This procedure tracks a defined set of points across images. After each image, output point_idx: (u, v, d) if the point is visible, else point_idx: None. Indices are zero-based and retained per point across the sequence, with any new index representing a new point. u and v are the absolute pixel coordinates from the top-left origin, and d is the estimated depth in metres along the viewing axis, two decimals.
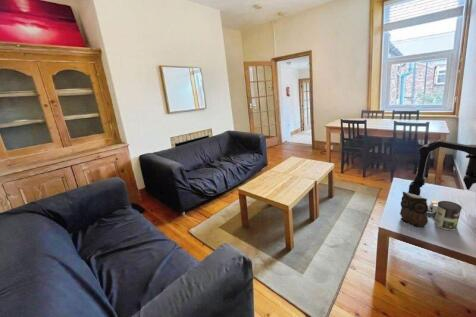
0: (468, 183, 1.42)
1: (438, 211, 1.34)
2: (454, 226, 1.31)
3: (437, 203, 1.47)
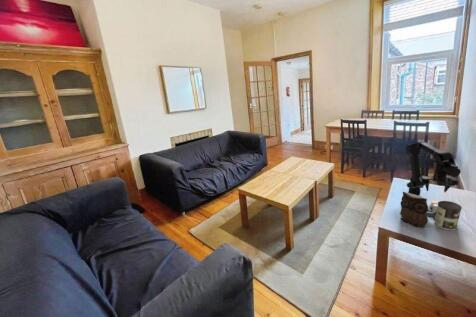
0: (426, 184, 1.52)
1: (438, 211, 1.34)
2: (454, 226, 1.31)
3: (437, 203, 1.47)
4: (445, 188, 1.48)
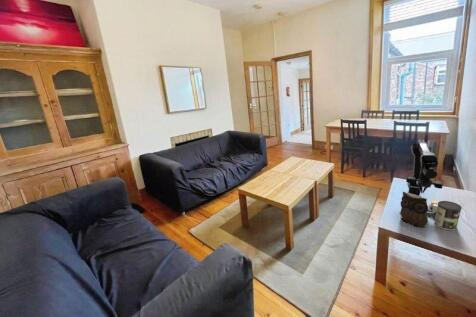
0: (420, 186, 1.52)
1: (438, 211, 1.34)
2: (454, 226, 1.31)
3: (437, 203, 1.47)
4: None
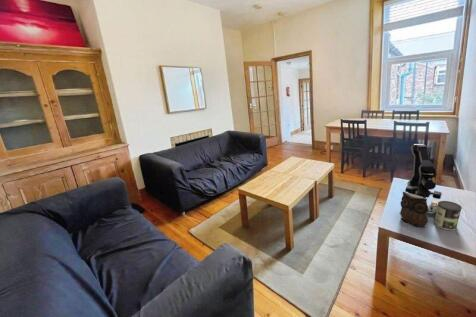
0: None
1: (438, 211, 1.34)
2: (454, 226, 1.31)
3: (437, 203, 1.47)
4: None
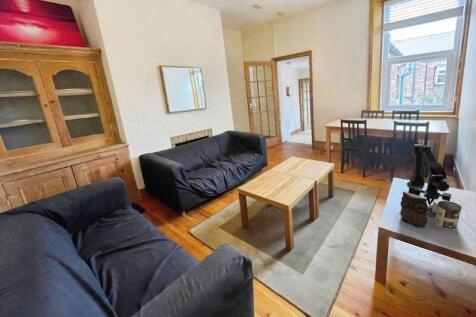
0: (428, 197, 1.51)
1: (438, 211, 1.34)
2: (454, 226, 1.31)
3: None
4: (430, 201, 1.50)
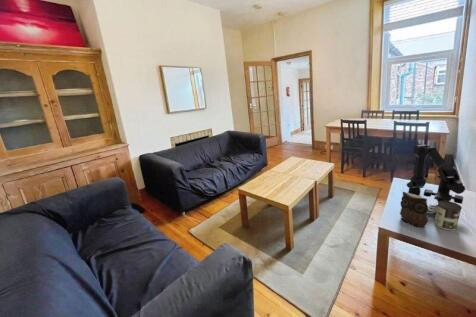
0: None
1: (438, 211, 1.34)
2: (454, 226, 1.31)
3: None
4: None
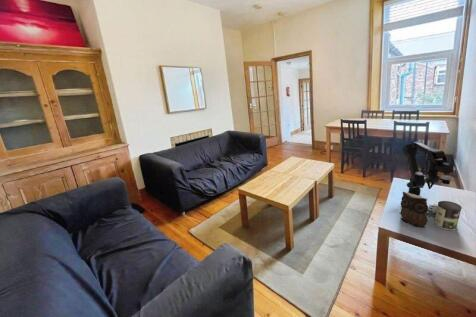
0: (428, 182, 1.54)
1: (438, 211, 1.34)
2: (454, 226, 1.31)
3: None
4: (430, 185, 1.53)
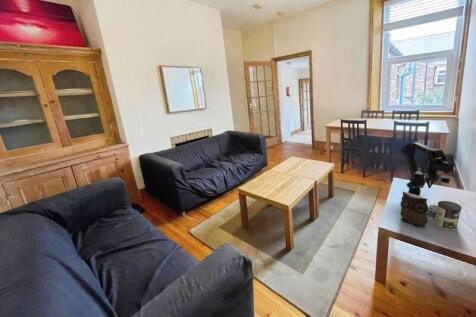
0: (427, 181, 1.55)
1: (438, 211, 1.34)
2: (454, 226, 1.31)
3: None
4: (430, 184, 1.54)
